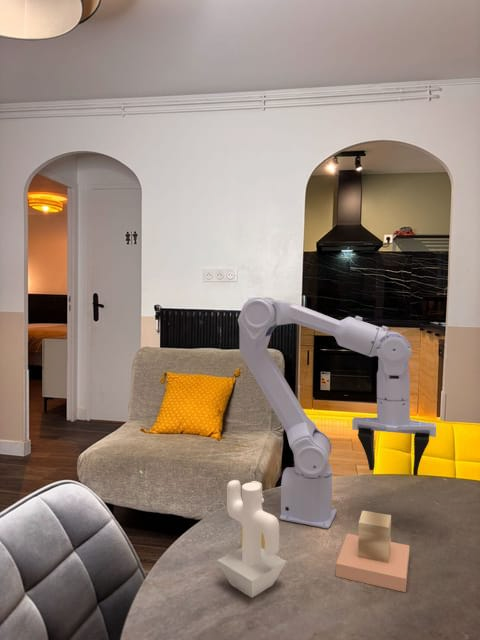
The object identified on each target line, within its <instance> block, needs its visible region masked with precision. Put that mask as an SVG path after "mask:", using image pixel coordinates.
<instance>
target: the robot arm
mask: <svg viewBox="0 0 480 640" xmlns="http://www.w3.org/2000/svg"><path fill="white" fill-rule="evenodd" d="M237 323H238V326H239V328H238V329H239V354H240V355H241V357H242V359H243V361H244V363H245V365H247V367H248V369H249V371H250V372H251V374H252V376H253V377H254V379H255V381H256V383H257V384H258V386H259V388H260V390H261V391H262V393H263V395H264V396H265V399H266V400H267V402H268V403H269V405H270V407H271V409H272V410H273V412H274V413H275V415H276V417H277V419H278V420H279V422H280V424H281V425H282V427H283V429H284V431H285V433H286V436H287V440H288V444H289V447H290V449H291V451H292V453H293V461H294V467H285V469H284V470H283V473H282V478H281V482H280V483H281V484H280V515H279V519H280V520H281V521H288V522H292V523H297V524H302V525H308V526H312V527H317V528H323V529H329V528H330V527H331V524H332V523H333V521H334V519H335V516H336V514H337V513H338V511H337V510H338V509H336V508H333V507H332V505H333V503H332V501H333V498H332V496H333V468H332V466H330V461H329V460H330V455H331V452H332V442H331V440H330V438H329V437H328V435H326V434H325V433H324V432H322V431H321V430H319V428H318V427H317V426H316V424H315V423H314V421H312V420H311V419H310V418H309V417H308V415H307V414H306V411H304V409H303V407H302V405H301V404H300V402H299V400H298V398H297V397H296V395H295V394H294V392H293V390H292V388H291V387H290V385H289V383H288V382H287V380H286V378H285V377H284V375H283V372H282V371H281V370H280V368H279V366H278V365H277V363H276V362H275V360H274V358H273V356H272V355H271V353H270V352H269V350H268V346H269V343H270V339H271V336H272V334H273V332H274V330H275V328H276V327H277V326H282V325H289V324H296V325H298V326H302V327H305V328H308V329H311V330H314V331H318V332H320V333H324V334H325V335H326V334H327V335H329V336H333V337H334V338H335V340H336V344H337V345H338V346H340V347H343V348H345V349H349V350H351V351H353V352H357V353H359V354H362V355H365V356H367V357H369V358H372V357H378V360H377V361H378V362H377V363H378V364H377V365H378V369H377V372H376V417H356V416H354V417H353V418H352V430H354V431H358V432H357V437H358V440H359V441H360V443H361V446H362V448H363V451H364V453H365V456H366V459H367V463H368V469H369V471H374V469H375V464H376V463H375V460H376V459H375V450H374V449H375V448H374V447H375V445H374V444H375V443H374V442H375V431H376V432H384V433H385V432H387V433H396V434H399V433H400V434H409V435H414V436H413V457H414V458H413V470H412V471H413V474H412V476H416V477H417V476H418V473H419V466H420V462H421V460H422V456H423V455H424V452H425V451H426V449H427V447H428V444H429V442H430V438H431V437H432V438H436V437H437V424H436V423H431V422H425V421H418V420H412V419H410V418H411V417H410V415H411V414H410V412H411V411H410V410H411V409H410V403H411V401H410V400H411V399H410V396H411V395H410V391H411V390H410V389H411V387H410V386H411V385H410V383H411V381H410V379H411V378H410V375H411V374H410V373H409V369H410V362H409V360H410V359H411V357H412V353H413V350H412V348H411V344H410V342H409V340H408V339H407V338H406V337H405V336H404V335H403V334H402V333H399V332H397V331H395V330H389V327H388V326H385V325H382V327H381V326H378V325H375V324H371V323H368V322H365V321H363V317H361V316H359V315H356V316H355V317H352V316H347V317H345V318H344V319H340V320H339V319H336V318H333V317H331V316H328V315H327V314H326V315H325V314H323V313H321V312H318V311H316V310H313V309H310V308H308V307H305V306H302V305H299V304H297V303H295V302H290V301H286V300H285V301H284V300H277V299H274V298H272V297H258V296H257V297H252V298H250V299H248V300H247V301H246V302H245V303H244V304H243V306H242V308H241V311H240V313H239V316H238V318H237Z"/></svg>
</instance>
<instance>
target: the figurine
mask: <svg viewBox="0 0 480 640" xmlns="http://www.w3.org/2000/svg"><path fill="white" fill-rule="evenodd" d="M263 496H264V494H263V485H262V483H261V482H260V481H255V480H252V481H251V482H246V483H243V484H242V485H241V482H240V481H239V480H238V479H232V480H230V481H229V482H228V483H227V484H226V509H227V510H226V511H227V514H228V516H229V517H230V518H232V519H234V520H235V521H237V522H240V523H241V525H242V527H243V541H242V548H241V547H239V548H238V549H236V550H234V551H232V552H230V553H228V554H226V555H224V556H222V557H220V558H218V559H217V560H216V562H218V565H219V567H220V568H221V570H222V571H223V574H224V576H225V577H226V579H227V580H228V582H229V584H230V585H231V586H232V587H234V588H235V589H237V590H238V591H240V592H241V593H243V594H245V595H246V596H248V597H250V598H251V599H252V598H254V597H256V596H258V595H259V594H261V593H262V592H264V591H266V590H267V589H268V588H271V587H272V586H273V585H274V583H275V581H276V580H277V579H278V576H280V573H281V572H282V570H283V568H284V566H285V565H286V563H287V560H286V559H283V558H282V557H280V556H278V555H277V554H278V553H279V550H280V523H279V520H278V518H277V517H276V516H275V515H273V514H271V513H270V512H266V511H264V510H263V503H264V502H265V500H264V497H263ZM261 533H263V535H264V541H265V549H263V548H261Z"/></svg>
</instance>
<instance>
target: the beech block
mask: <svg viewBox="0 0 480 640" xmlns="http://www.w3.org/2000/svg"><path fill="white" fill-rule="evenodd" d="M357 533H358V557H360V558H365V559H370V560H375V561H380V562H385V563H388V561H389V555H390V548H391V542H392V539H391V538H392V537H391V536H392V515H391V514H386V513H380V512H374V511H367V510H361V514H360V517H359V519H358V532H357Z"/></svg>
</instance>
